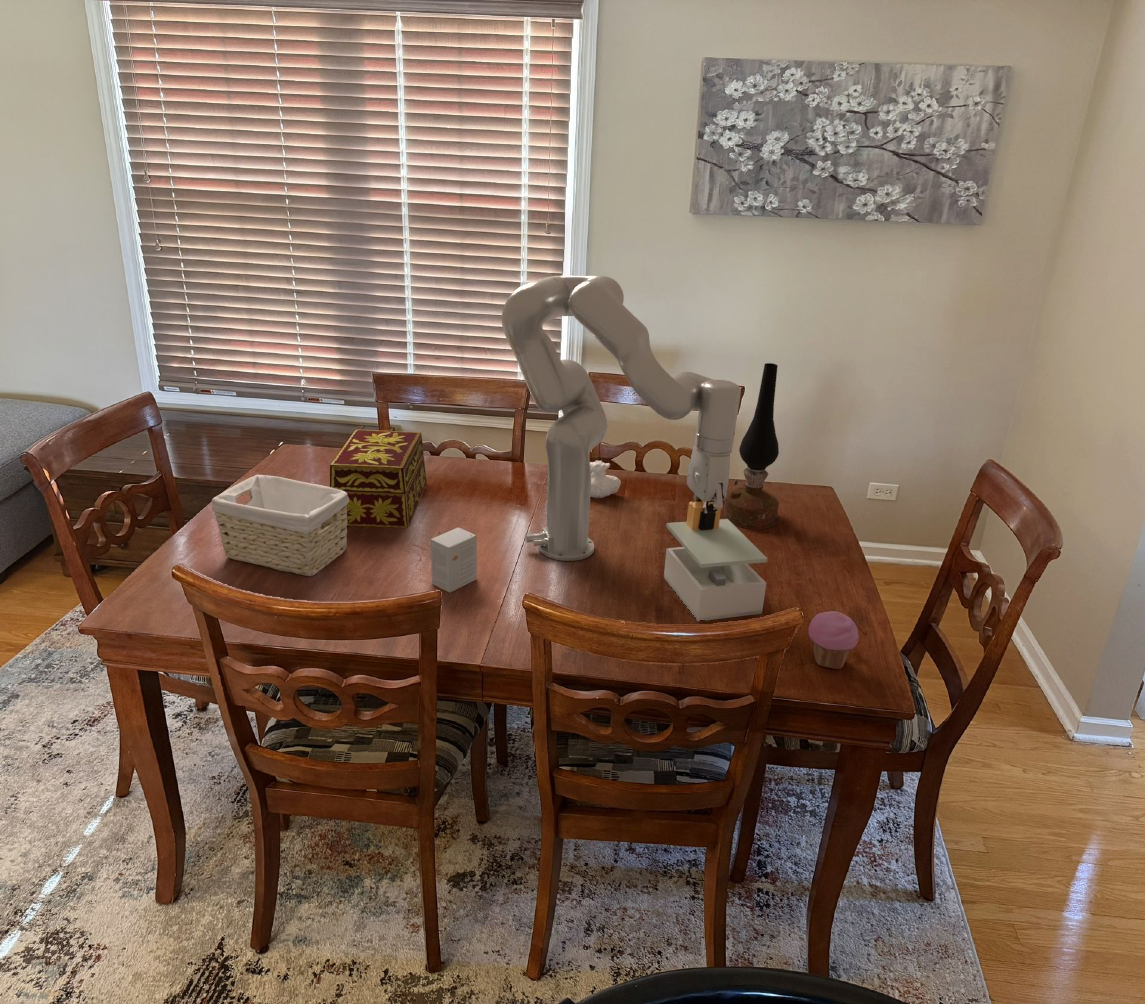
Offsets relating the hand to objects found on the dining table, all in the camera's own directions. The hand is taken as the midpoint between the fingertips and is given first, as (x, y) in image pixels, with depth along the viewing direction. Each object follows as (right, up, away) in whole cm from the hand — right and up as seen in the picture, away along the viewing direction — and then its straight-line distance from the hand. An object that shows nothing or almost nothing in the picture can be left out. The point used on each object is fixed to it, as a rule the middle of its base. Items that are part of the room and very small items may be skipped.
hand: (702, 524), depth 175 cm
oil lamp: (+17, +1, +36) cm, 40 cm away
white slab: (+2, -4, -5) cm, 7 cm away
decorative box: (-75, +4, +35) cm, 83 cm away
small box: (-52, -12, 0) cm, 53 cm away
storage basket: (-89, -7, +7) cm, 90 cm away
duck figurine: (-21, +6, +45) cm, 50 cm away
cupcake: (+20, -25, -21) cm, 38 cm away
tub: (+2, -15, -1) cm, 15 cm away
